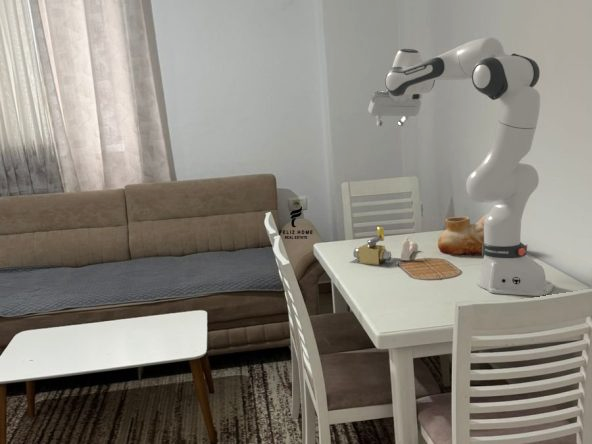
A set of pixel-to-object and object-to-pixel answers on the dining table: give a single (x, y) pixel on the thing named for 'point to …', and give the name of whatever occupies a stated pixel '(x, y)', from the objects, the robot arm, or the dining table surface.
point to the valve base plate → (380, 264)
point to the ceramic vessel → (462, 237)
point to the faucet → (408, 249)
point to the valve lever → (379, 238)
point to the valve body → (372, 254)
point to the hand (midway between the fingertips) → (389, 125)
